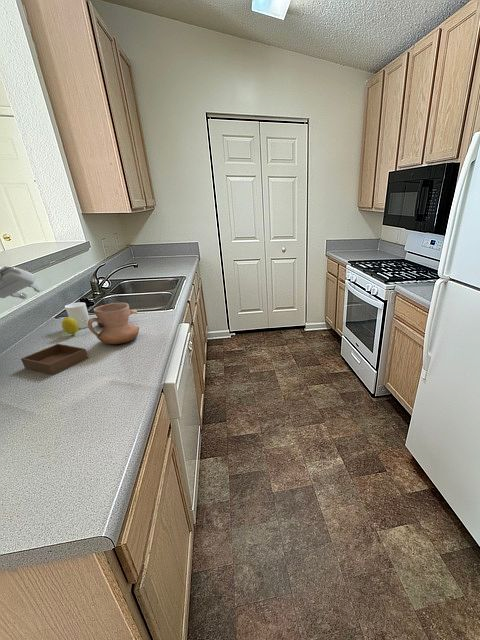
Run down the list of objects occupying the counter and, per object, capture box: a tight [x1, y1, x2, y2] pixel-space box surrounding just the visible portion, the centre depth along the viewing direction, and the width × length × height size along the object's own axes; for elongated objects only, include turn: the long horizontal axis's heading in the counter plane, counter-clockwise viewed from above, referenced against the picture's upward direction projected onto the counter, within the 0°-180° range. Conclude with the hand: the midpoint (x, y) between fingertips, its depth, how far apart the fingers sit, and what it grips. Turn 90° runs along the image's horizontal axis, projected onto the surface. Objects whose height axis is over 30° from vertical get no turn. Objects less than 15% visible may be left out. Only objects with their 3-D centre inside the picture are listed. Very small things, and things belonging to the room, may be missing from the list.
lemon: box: [61, 316, 79, 336], centre depth 139 cm, size 6×6×8 cm
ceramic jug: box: [87, 302, 140, 345], centre depth 131 cm, size 18×14×14 cm
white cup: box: [64, 301, 90, 330], centre depth 148 cm, size 8×8×10 cm
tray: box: [20, 343, 89, 376], centre depth 117 cm, size 14×13×4 cm
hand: (33, 293), depth 129 cm, fingers open, 8 cm apart
